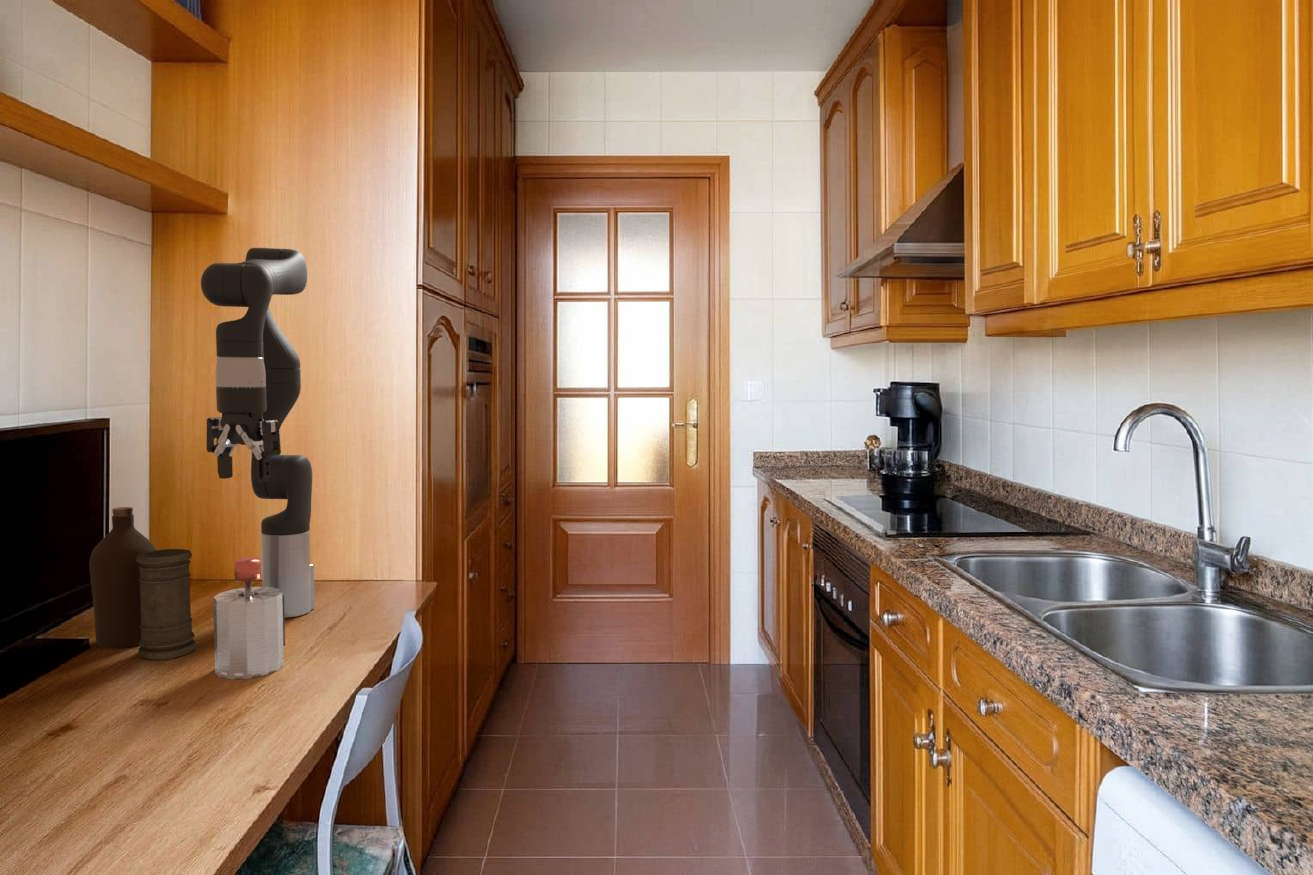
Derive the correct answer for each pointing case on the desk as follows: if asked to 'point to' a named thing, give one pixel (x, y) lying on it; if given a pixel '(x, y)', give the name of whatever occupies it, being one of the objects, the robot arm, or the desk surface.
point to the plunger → (247, 572)
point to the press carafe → (248, 632)
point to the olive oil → (118, 582)
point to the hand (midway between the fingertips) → (244, 479)
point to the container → (165, 604)
